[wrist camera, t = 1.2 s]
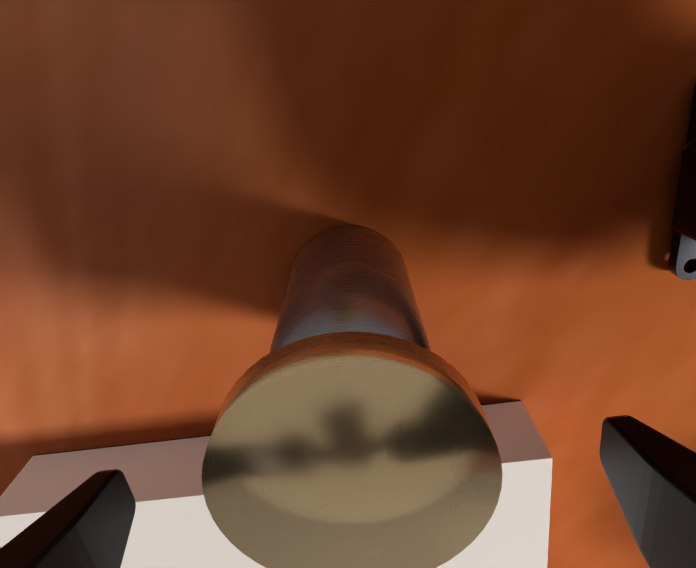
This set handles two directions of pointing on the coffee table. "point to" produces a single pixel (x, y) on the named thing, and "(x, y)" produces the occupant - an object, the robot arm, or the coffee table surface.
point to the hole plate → (219, 553)
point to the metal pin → (351, 426)
